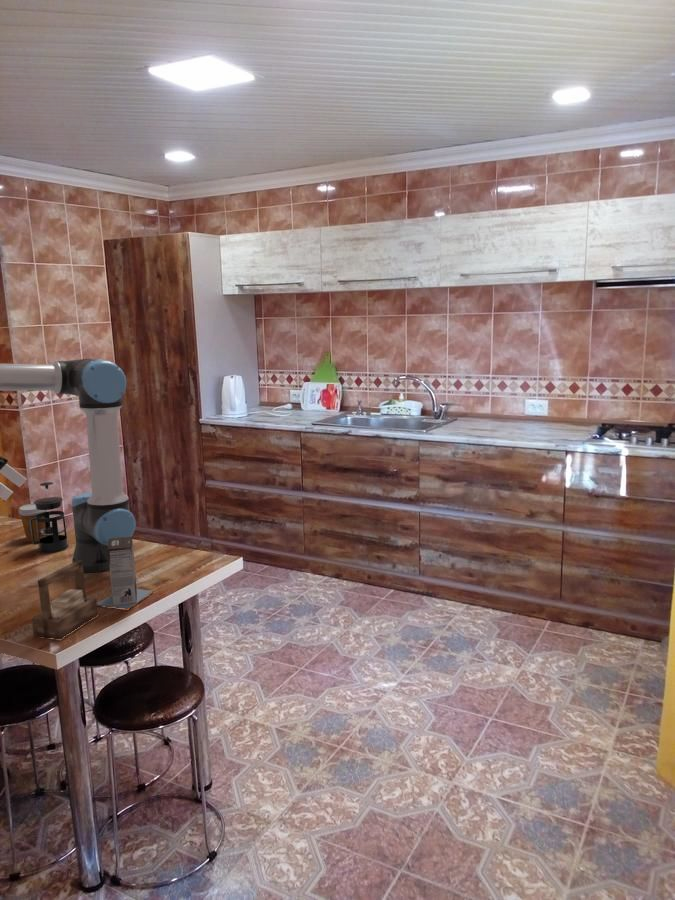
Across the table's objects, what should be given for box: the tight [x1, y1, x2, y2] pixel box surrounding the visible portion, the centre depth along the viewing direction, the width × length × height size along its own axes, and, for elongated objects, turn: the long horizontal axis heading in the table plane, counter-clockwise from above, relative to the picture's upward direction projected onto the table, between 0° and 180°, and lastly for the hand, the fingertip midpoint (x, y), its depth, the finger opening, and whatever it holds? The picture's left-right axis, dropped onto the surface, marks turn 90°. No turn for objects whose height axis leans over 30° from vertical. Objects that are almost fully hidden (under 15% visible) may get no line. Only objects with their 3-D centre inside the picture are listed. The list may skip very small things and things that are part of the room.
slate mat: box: [97, 588, 153, 609], centre depth 185 cm, size 12×10×1 cm
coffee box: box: [108, 536, 138, 605], centre depth 183 cm, size 9×6×16 cm
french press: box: [30, 481, 69, 554], centre depth 226 cm, size 12×9×23 cm
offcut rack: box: [31, 560, 99, 639], centre depth 168 cm, size 14×8×15 cm, turn 161°
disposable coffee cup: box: [18, 502, 48, 543], centre depth 237 cm, size 10×10×12 cm
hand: (16, 489), depth 172 cm, fingers open, 13 cm apart
